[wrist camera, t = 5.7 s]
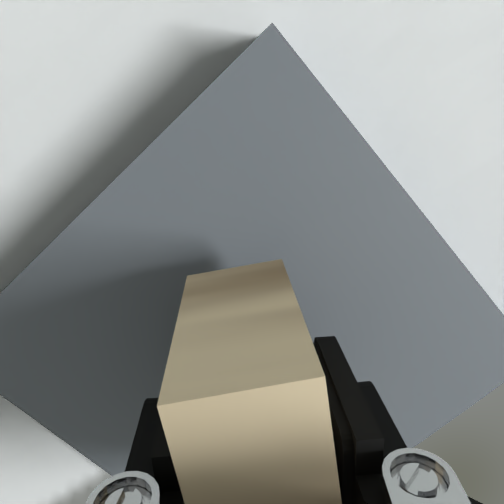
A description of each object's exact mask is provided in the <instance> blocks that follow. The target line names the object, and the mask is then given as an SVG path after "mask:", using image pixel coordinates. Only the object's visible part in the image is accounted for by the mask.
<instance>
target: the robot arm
mask: <svg viewBox="0 0 504 504" xmlns="http://www.w3.org/2000/svg"><path fill="white" fill-rule="evenodd" d="M313 345H314V347H315V350H316V353H317V355H318V358H319V361H320V364H321V366H322V369H323V372H324V374H325V378H326V386H327V394H328V401H329V409H330V417H331V424H332V432H333V439H334V447H335V455H336V462H337V470H338V477H339V485H340V493H341V500H342V504H482V503H480V502H478V501H476V500H474V499H472V498H470V497H468V496H467V495H466V493H465V491H464V489H463V487H462V485H461V483H460V481H459V480H458V477H457V476H456V474H455V472H454V471H453V470H452V468H451V467H450V465H449V464H447V463H446V462H445V461H444V460H443V459H441V458H440V457H438V456H436V455H434V454H433V453H431V452H428V451H425V450H421V449H416V448H407V446H406V444H405V442H404V440H403V439H402V437H401V435H400V433H399V431H398V429H397V427H396V425H395V424H394V422H393V420H392V418H391V416H390V414H389V412H388V410H387V409H386V407H385V405H384V403H383V401H382V399H381V397H380V395H379V394H378V392H377V390H376V388H375V386H374V385H373V383H372V382H370V381H364V382H357V380H356V378H355V376H354V374H353V372H352V370H351V368H350V366H349V364H348V362H347V360H346V357H345V355H344V353H343V351H342V349H341V347H340V345H339V343H338V341H337V339H336V337H335V336H327V337H315V339H314V343H313ZM158 399H159V397H158V398H147V399H145V401H144V404H143V408H142V411H141V415H140V418H139V422H138V425H137V429H136V433H135V436H134V440H133V443H132V447H131V450H130V454H129V458H128V461H127V465H126V468H125V472H123V473H119V474H116V475H114V476H112V477H110V478H108V479H106V480H104V481H103V482H102V483H101V484H99V485H98V486H97V487H96V488H95V489H94V490H93V492H92V493H91V494H90V495H89V497H88V499H87V502H86V504H185V503H184V500H183V496H182V493H181V489H180V486H179V482H178V479H177V475H176V472H175V468H174V465H173V461H172V458H171V454H170V451H169V447H168V444H167V440H166V437H165V433H164V430H163V426H162V423H161V419H160V416H159V412H158V409H157V403H158Z"/></svg>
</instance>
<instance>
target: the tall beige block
mask: <svg viewBox="0 0 504 504" xmlns="http://www.w3.org/2000/svg"><path fill="white" fill-rule="evenodd" d="M157 409H158V412H159V416H160V419H161V423H162V426H163V430H164V433H165V437H166V440H167V444H168V447H169V451H170V454H171V458H172V461H173V465H174V468H175V472H176V475H177V479H178V482H179V486H180V489H181V493H182V496H183V500H184V503H185V504H342V500H341V493H340V485H339V477H338V470H337V462H336V455H335V447H334V439H333V432H332V424H331V417H330V409H329V401H328V394H327V386H326V378H325V374H324V372H323V369H322V366H321V364H320V361H319V358H318V355H317V353H316V350H315V347H314V345H313V342H312V339H311V337H310V334H309V331H308V328H307V326H306V323H305V320H304V318H303V315H302V312H301V309H300V307H299V304H298V301H297V299H296V296H295V293H294V291H293V288H292V285H291V282H290V280H289V277H288V274H287V272H286V269H285V266H284V263H283V261H282V259H279V260H273V261H267V262H262V263H256V264H250V265H245V266H239V267H233V268H228V269H222V270H216V271H211V272H205V273H199V274H194V275H188V276H187V278H186V283H185V287H184V291H183V295H182V300H181V304H180V308H179V313H178V317H177V321H176V326H175V330H174V334H173V338H172V343H171V347H170V351H169V356H168V360H167V364H166V369H165V373H164V377H163V382H162V386H161V390H160V394H159V399H158V403H157Z"/></svg>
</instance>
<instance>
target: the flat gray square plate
mask: <svg viewBox="0 0 504 504" xmlns="http://www.w3.org/2000/svg"><path fill="white" fill-rule="evenodd" d="M279 259H282V261H283V263H284V266H285V269H286V272H287V274H288V277H289V280H290V282H291V285H292V288H293V291H294V293H295V296H296V299H297V301H298V304H299V307H300V309H301V312H302V315H303V318H304V320H305V323H306V326H307V328H308V331H309V334H310V337H311V339H312V342H313V343H314V339H315V337H327V336H335V337H336V339H337V341H338V343H339V345H340V347H341V349H342V351H343V353H344V355H345V357H346V360H347V362H348V364H349V366H350V368H351V370H352V372H353V374H354V376H355V378H356V380H357V382H364V381H370V382H372V383H373V385H374V386H375V388H376V390H377V392H378V394H379V395H380V397H381V399H382V401H383V403H384V405H385V407H386V409H387V410H388V412H389V414H390V416H391V418H392V420H393V422H394V424H395V425H396V427H397V429H398V431H399V433H400V435H401V437H402V439H403V440H404V442H405V444H406V446H407V448H413V447H414V446H416V445H417V444H419V443H420V442H422V441H423V440H424V439H426V438H427V437H429V436H430V435H431V434H433V433H434V432H436V431H437V430H438V429H440V428H441V427H443V426H444V425H445V424H447V423H448V422H450V421H451V420H452V419H454V418H455V417H456V416H458V415H459V414H461V413H462V412H463V411H465V410H466V409H468V408H469V407H470V406H472V405H473V404H475V403H476V402H477V401H479V400H480V399H482V398H483V397H484V396H486V395H487V394H489V393H490V392H491V391H492V390H494V389H495V388H497V387H498V386H500V385H501V384H503V383H504V315H503V314H502V312H501V311H500V310H499V309H498V307H497V306H496V305H495V304H494V302H493V301H492V300H491V298H490V297H489V296H488V295H487V293H486V292H485V291H484V290H483V288H482V287H481V286H480V285H479V283H478V282H477V281H476V280H475V278H474V277H473V276H472V274H471V273H470V272H469V271H468V269H467V268H466V267H465V266H464V264H463V263H462V262H461V261H460V259H459V258H458V257H457V256H456V254H455V253H454V252H453V250H452V249H451V248H450V247H449V245H448V244H447V243H446V242H445V240H444V239H443V238H442V237H441V235H440V234H439V233H438V232H437V230H436V229H435V228H434V226H433V225H432V224H431V223H430V221H429V220H428V219H427V218H426V216H425V215H424V214H423V213H422V211H421V210H420V209H419V208H418V206H417V205H416V204H415V202H414V201H413V200H412V199H411V197H410V196H409V195H408V194H407V192H406V191H405V190H404V189H403V187H402V186H401V185H400V184H399V182H398V181H397V180H396V178H395V177H394V176H393V175H392V173H391V172H390V171H389V170H388V168H387V167H386V166H385V165H384V163H383V162H382V161H381V160H380V158H379V157H378V156H377V154H376V153H375V152H374V151H373V149H372V148H371V147H370V146H369V144H368V143H367V142H366V141H365V139H364V138H363V137H362V136H361V134H360V133H359V132H358V130H357V129H356V128H355V127H354V125H353V124H352V123H351V122H350V120H349V119H348V118H347V117H346V115H345V114H344V113H343V112H342V110H341V109H340V108H339V106H338V105H337V104H336V103H335V101H334V100H333V99H332V98H331V96H330V95H329V94H328V93H327V91H326V90H325V89H324V88H323V86H322V85H321V84H320V82H319V81H318V80H317V79H316V77H315V76H314V75H313V74H312V72H311V71H310V70H309V69H308V67H307V66H306V65H305V63H304V62H303V61H302V60H301V58H300V57H299V56H298V55H297V53H296V52H295V51H294V50H293V48H292V47H291V46H290V45H289V43H288V42H287V41H286V39H285V38H284V37H283V36H282V34H281V33H280V32H279V31H278V29H277V28H276V27H275V26H274V24H273V23H272V24H271V25H270V26H269V27H268V28H267V29H265V30H264V31H263V32H262V33H261V34H260V35H259V36H258V37H257V38H256V39H255V40H254V41H253V42H252V43H251V44H250V45H249V46H248V47H247V48H246V49H245V50H244V51H243V52H242V53H241V54H240V55H239V56H238V57H237V58H236V59H235V60H234V61H233V62H232V63H231V64H230V65H229V66H228V67H227V68H226V69H225V70H224V71H223V72H222V73H221V74H220V75H219V76H218V77H217V78H216V79H215V80H214V81H213V82H212V83H211V84H210V85H209V86H208V87H207V88H206V89H205V90H204V91H203V92H202V93H201V94H200V95H199V96H198V97H197V98H196V99H195V100H194V101H193V102H192V103H191V104H190V105H189V106H188V107H187V108H186V109H185V110H184V111H183V112H182V113H181V114H180V115H179V116H178V117H177V118H176V119H175V120H174V121H173V122H172V123H171V124H170V125H169V126H168V127H167V128H166V129H165V130H164V131H163V132H162V133H161V134H160V135H159V136H158V137H157V138H156V139H155V140H154V141H153V142H152V143H151V144H150V145H149V146H148V147H147V148H146V149H145V150H144V151H143V152H142V153H141V154H140V155H139V156H138V157H137V158H136V159H135V160H134V161H133V162H132V163H131V164H130V165H129V166H128V167H127V168H126V169H125V170H124V171H123V172H122V173H121V174H120V175H119V176H118V177H117V178H116V179H115V180H114V181H113V182H112V183H111V184H110V185H109V186H108V187H107V188H106V189H105V190H104V191H103V192H102V193H101V194H100V195H99V196H98V197H97V198H95V199H94V200H93V201H92V202H91V203H90V204H89V205H88V206H87V207H86V208H85V209H84V210H83V211H82V212H81V213H80V214H79V215H78V216H77V217H76V218H75V219H74V220H73V221H72V222H71V223H70V224H69V225H68V226H67V227H66V228H65V229H64V230H63V231H62V232H61V233H60V234H59V235H58V236H57V237H56V238H55V239H54V240H53V241H52V242H51V243H50V244H49V245H48V246H47V247H46V248H45V249H44V250H43V251H42V252H41V253H40V254H39V255H38V256H37V257H36V258H35V259H34V260H33V261H32V262H31V263H30V264H29V265H28V266H27V267H26V268H25V269H24V270H23V271H22V272H21V273H20V274H19V275H18V276H17V277H16V278H15V279H14V280H13V281H12V282H11V283H10V284H9V285H8V286H7V287H6V288H5V289H4V290H3V291H2V292H1V293H0V395H2V396H3V397H4V398H6V399H7V400H9V401H10V402H11V403H13V404H14V405H15V406H17V407H18V408H20V409H21V410H22V411H24V412H25V413H26V414H28V415H29V416H31V417H32V418H33V419H35V420H36V421H37V422H39V423H40V424H41V425H43V426H44V427H46V428H47V429H48V430H50V431H51V432H52V433H54V434H55V435H57V436H58V437H59V438H61V439H62V440H63V441H65V442H66V443H68V444H69V445H70V446H72V447H73V448H74V449H76V450H77V451H79V452H80V453H81V454H83V455H84V456H85V457H87V458H88V459H90V460H91V461H92V462H94V463H95V464H96V465H98V466H99V467H101V468H102V469H103V470H105V471H106V472H107V473H109V474H110V475H112V476H114V475H116V474H119V473H123V472H125V468H126V465H127V461H128V458H129V454H130V450H131V447H132V443H133V440H134V436H135V433H136V429H137V425H138V422H139V418H140V415H141V411H142V408H143V404H144V401H145V399H147V398H158V397H159V394H160V390H161V386H162V382H163V377H164V373H165V369H166V364H167V360H168V356H169V351H170V347H171V343H172V338H173V334H174V330H175V326H176V321H177V317H178V313H179V308H180V304H181V300H182V295H183V291H184V287H185V283H186V278H187V276H188V275H194V274H199V273H205V272H211V271H216V270H222V269H228V268H233V267H239V266H245V265H250V264H256V263H262V262H267V261H273V260H279Z"/></svg>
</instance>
